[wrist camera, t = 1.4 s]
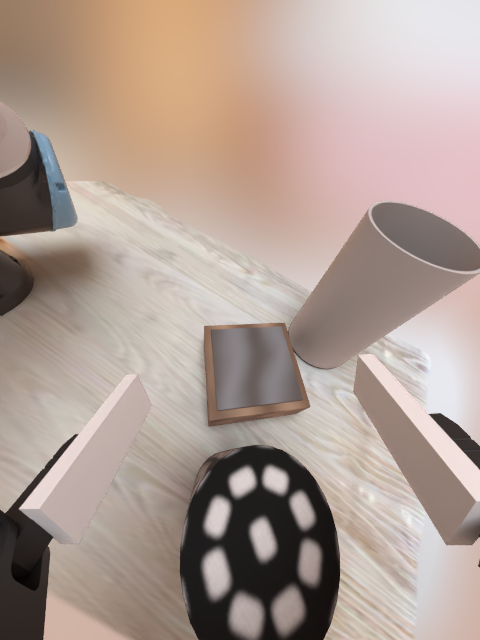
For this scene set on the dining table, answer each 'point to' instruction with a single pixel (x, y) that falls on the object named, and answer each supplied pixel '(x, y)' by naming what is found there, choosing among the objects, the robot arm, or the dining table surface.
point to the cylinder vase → (382, 281)
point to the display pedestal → (251, 373)
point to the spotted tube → (259, 549)
